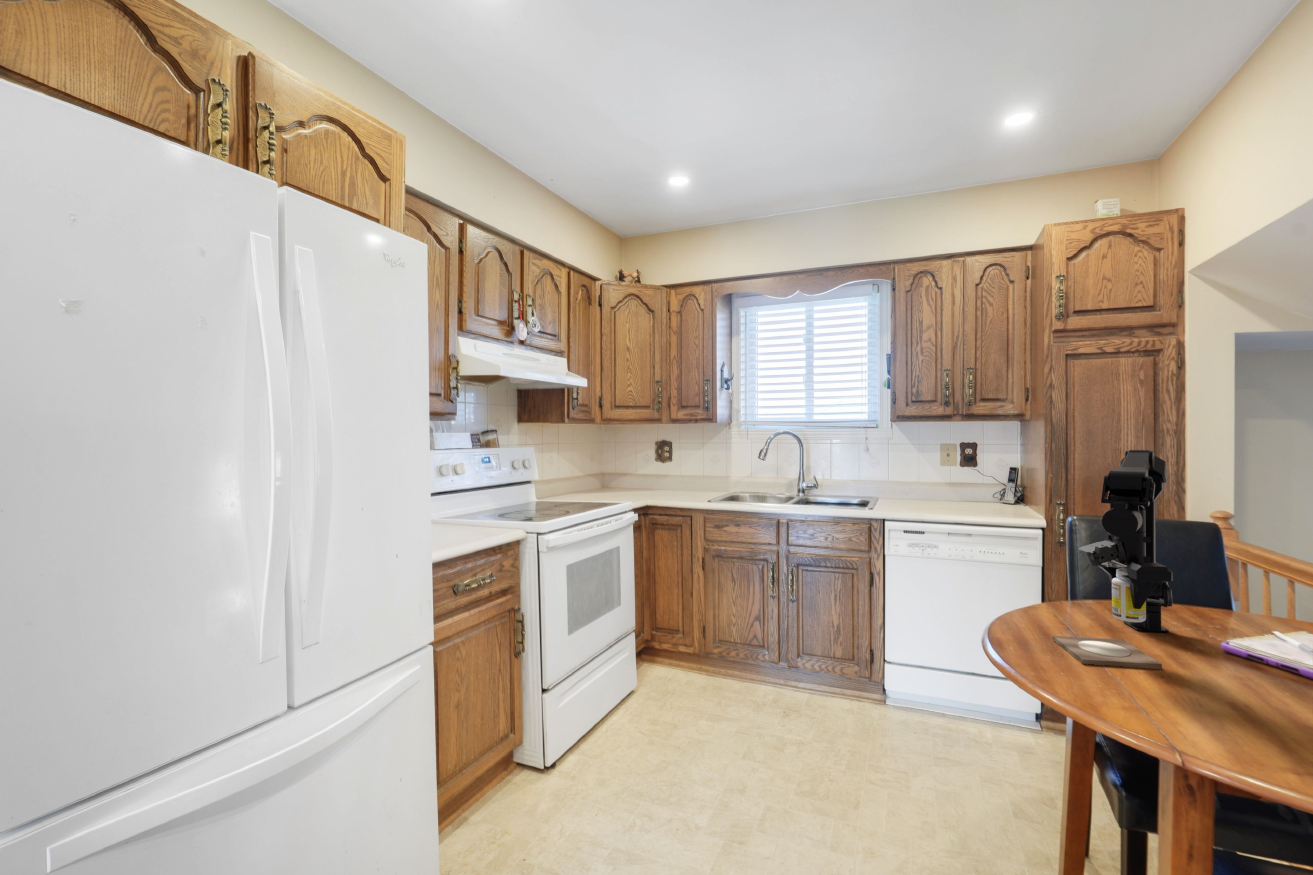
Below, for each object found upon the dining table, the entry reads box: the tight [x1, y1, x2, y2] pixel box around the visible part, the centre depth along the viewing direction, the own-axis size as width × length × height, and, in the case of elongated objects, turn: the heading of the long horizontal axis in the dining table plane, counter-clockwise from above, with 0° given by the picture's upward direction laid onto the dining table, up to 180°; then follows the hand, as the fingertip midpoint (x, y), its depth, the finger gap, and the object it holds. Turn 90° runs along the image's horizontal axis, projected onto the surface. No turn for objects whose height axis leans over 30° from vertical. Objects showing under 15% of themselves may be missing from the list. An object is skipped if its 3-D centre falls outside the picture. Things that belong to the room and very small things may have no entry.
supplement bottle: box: [1111, 568, 1146, 622], centre depth 123 cm, size 6×6×10 cm
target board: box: [1052, 635, 1163, 670], centre depth 125 cm, size 14×14×1 cm
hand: (1128, 604), depth 123 cm, fingers closed on supplement bottle, 6 cm apart
